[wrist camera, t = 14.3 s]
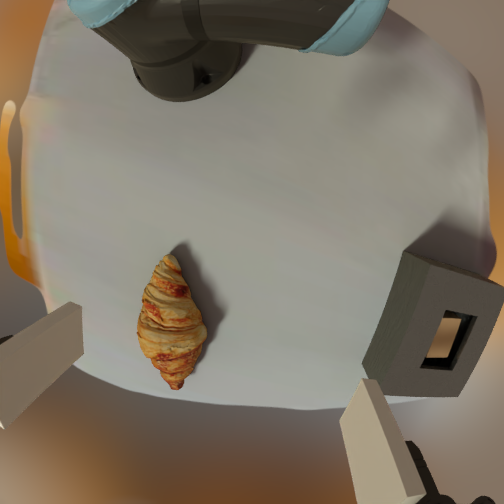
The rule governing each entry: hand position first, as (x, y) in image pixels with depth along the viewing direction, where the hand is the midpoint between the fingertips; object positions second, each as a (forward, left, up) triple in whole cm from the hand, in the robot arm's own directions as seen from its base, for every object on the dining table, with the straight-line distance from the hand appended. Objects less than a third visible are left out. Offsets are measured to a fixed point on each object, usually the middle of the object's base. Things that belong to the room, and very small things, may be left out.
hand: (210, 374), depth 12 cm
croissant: (+13, -8, -27) cm, 31 cm away
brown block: (+4, +28, -26) cm, 38 cm away
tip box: (+4, +28, -27) cm, 39 cm away
